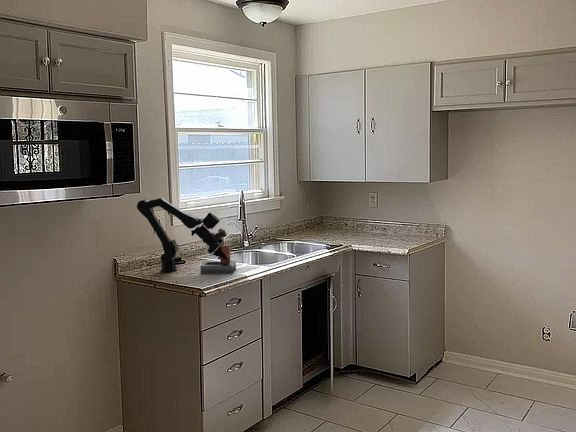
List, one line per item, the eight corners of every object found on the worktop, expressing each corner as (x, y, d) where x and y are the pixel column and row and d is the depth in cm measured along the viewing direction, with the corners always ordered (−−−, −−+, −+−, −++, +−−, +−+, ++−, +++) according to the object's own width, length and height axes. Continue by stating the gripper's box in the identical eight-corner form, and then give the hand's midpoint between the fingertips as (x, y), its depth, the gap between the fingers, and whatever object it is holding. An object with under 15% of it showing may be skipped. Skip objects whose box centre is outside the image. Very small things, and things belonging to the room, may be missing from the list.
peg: (221, 272, 302) (221, 246, 301) (218, 270, 307) (218, 244, 306) (232, 271, 304) (231, 245, 303) (229, 269, 309) (228, 244, 308)
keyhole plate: (200, 273, 299) (200, 265, 299) (204, 268, 312) (204, 261, 312) (232, 273, 299) (232, 265, 299) (235, 268, 312) (235, 260, 311)
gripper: (214, 226, 294) (237, 249, 295) (219, 222, 312) (241, 243, 313) (198, 242, 295) (221, 265, 296) (204, 237, 313) (226, 258, 314)
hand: (228, 257), depth 305 cm, fingers open, 9 cm apart
